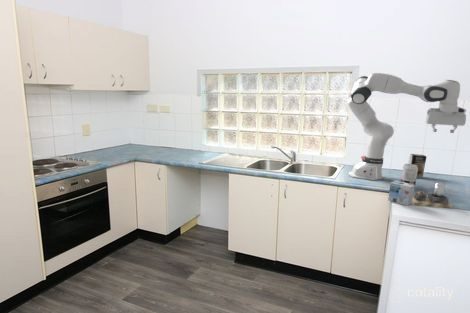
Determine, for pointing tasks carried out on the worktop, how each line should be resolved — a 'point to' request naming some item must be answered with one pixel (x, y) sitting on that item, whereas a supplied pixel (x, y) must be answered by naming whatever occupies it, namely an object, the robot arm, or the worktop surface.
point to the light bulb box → (401, 192)
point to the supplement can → (409, 174)
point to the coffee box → (418, 163)
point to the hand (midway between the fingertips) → (443, 132)
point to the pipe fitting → (439, 190)
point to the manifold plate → (430, 200)
